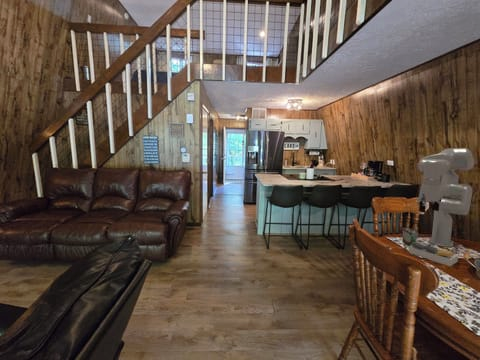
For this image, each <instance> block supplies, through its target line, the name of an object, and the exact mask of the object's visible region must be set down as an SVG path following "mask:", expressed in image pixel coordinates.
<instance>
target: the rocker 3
mask: <svg viewBox="0 0 480 360" xmlns="http://www.w3.org/2000/svg"><path fill="white" fill-rule="evenodd" d="M439 250H440V251H438V252H437V255H442V256H444V257H447V256H452V255H453V254H454V252H453V251H448V250H441V249H439Z"/></svg>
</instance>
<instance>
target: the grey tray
mask: <svg viewBox="0 0 480 360" xmlns="http://www.w3.org/2000/svg"><path fill="white" fill-rule="evenodd" d="M436 249H437V248H436ZM437 250H438V251H440V250H441V249H437ZM408 252H409V254H412V255H414V254H415V255H414V256H417V255H419V256H418V257H420V256H421V257H420V258H423V257H424V258H423V259H426V258H427V260H429V261H432V262H435V263H438V264H441V265H444V266H447V267H452V266H453V265H455V264H456V263H458V259H459V255H458V254H455V253H453V255H452V256H447V257H444V256H442V255H437V253H435V254H434V253H432V252H431V253H430V252H428V251H427V250H425V249H419V248H418V249H417V248H415V247H414V246H409V247H408Z"/></svg>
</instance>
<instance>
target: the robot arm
mask: <svg viewBox="0 0 480 360" xmlns="http://www.w3.org/2000/svg"><path fill="white" fill-rule="evenodd" d="M474 165H475V160H474V156H473V154H472V151H471V150H470V149H469V148H466V147H460V148H459V147H456V148H455V147H454V148H453V147H451V148H450V147H449V148H445V149H443V150H442V151H440V152H439V153H436V154H431V155H427V156H424V157H422V158H421V159H420V160H419V162H418V163H417V169H418V171H420V172H423V176H422V184H420V188H419V194H418V197H416V200H417V203H418V212H419V213H420V212H421V213H426V210H427V209H426V204H427V203H432V205H431V206H432V207H431V210H432V211H433V220H432V221H433V223H432V231H431V232H432V234H431V238H428V242H429V243H430V244H432V245H434V246H435V245H436V246H439V247H445V248H450V247H451V248H452V247H453V246H454V243H453V242H451V240H452V239H451V238H452V231H453V229H452V228H453V218H452V216H451V215H450V214H455V215H460V216H466V215H468V214H469V211H470V208H471V202H472V196H473V188H472V186H471V185H470V184H465V183H459V179H460V177H459V175H458V174H457V173H456V172H455V170H457V171H459V170H460V171H470V170H472V169H473V168H474Z"/></svg>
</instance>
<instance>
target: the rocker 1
mask: <svg viewBox="0 0 480 360" xmlns="http://www.w3.org/2000/svg"><path fill="white" fill-rule="evenodd" d="M411 245H412V246H414V247H415V248H417V249H418V248H419V249H423V247H424V246H425V245H424V244H422V243H419V242H417V241H416V242H415V241H414V242H412V243H411Z"/></svg>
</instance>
